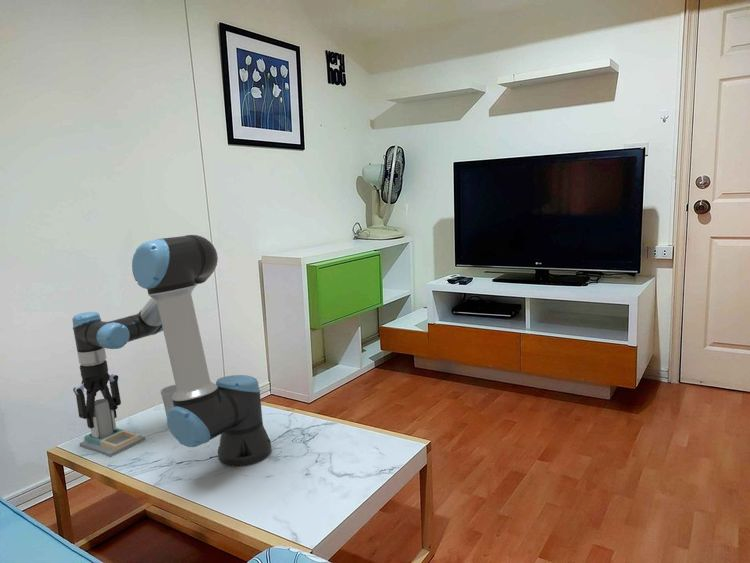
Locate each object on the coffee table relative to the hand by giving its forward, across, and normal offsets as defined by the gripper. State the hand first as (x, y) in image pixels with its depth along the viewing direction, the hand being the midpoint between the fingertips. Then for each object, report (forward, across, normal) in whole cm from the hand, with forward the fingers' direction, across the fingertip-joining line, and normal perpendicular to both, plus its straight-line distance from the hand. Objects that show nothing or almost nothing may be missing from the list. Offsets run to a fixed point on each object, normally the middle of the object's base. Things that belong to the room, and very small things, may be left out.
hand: (104, 432), depth 170 cm
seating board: (+3, 0, +4) cm, 5 cm away
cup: (+3, -19, +11) cm, 22 cm away
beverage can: (+2, 0, 0) cm, 2 cm away
